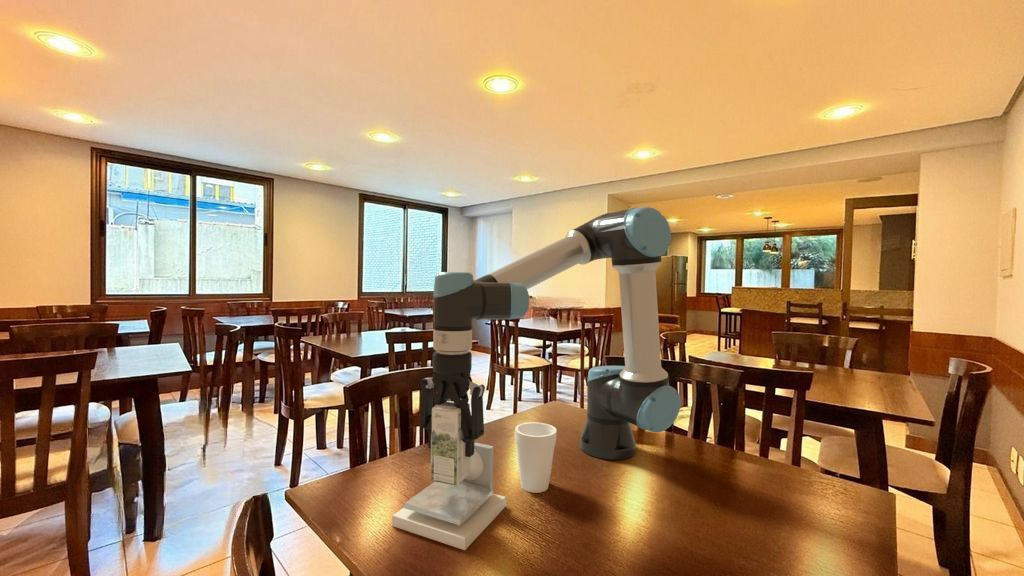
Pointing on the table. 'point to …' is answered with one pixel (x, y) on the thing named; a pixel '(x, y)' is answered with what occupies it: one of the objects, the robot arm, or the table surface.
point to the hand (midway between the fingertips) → (450, 468)
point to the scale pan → (449, 501)
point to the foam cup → (535, 454)
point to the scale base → (469, 528)
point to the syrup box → (446, 444)
